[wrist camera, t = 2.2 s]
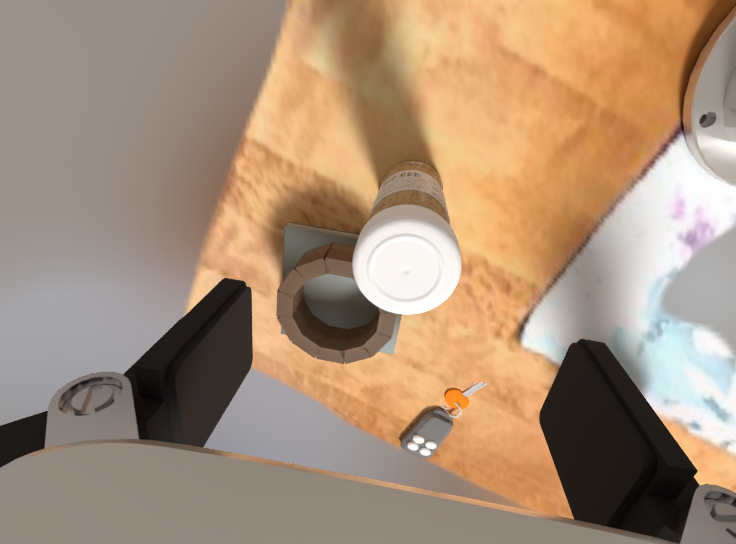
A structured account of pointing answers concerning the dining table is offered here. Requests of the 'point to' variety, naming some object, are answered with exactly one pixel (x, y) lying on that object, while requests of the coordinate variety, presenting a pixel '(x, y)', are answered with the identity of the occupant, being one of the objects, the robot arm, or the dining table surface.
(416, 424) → the key chain
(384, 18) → the dining table surface
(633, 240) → the dining table surface
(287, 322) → the collar
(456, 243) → the sprinkles bottle
